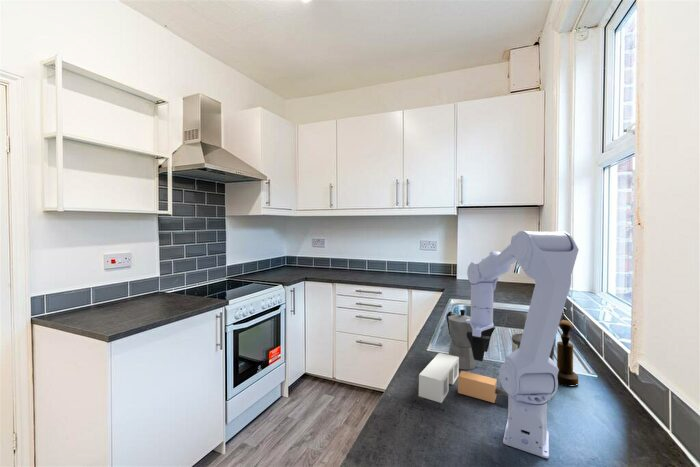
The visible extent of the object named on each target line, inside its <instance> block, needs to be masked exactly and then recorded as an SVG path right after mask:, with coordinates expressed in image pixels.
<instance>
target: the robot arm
mask: <svg viewBox="0 0 700 467" xmlns="http://www.w3.org/2000/svg"><path fill="white" fill-rule="evenodd" d="M579 251H580V250H579V247H578V245H577V244H576V242H575V240H574V238H573V236H572V235H571V234H570V233H568V232H567V231H561V230H560V231H527V230H520V231H518V232H516V234H513V235H512V236H511V240H510V243H509V245H507V246H506V247H505V248H503V250H501V252H500V251H493V250H492V251H490V252H489V255H487V256H486V257H485V258H482V259H481V261H479V262H470V263H469V265H468V266H467V272H466V275H467V279H468V282H469V283H470V317H471V320H470V319H467V320H466V323H468V324H470V325H471V327H472V332H467V338H468V340H469V342H470V344H471V348H472V353H473V358H474V360H476V362H477V361H478V362H483V360H484V357H485V353H487V352H488V351H489V347H490V342H491V339H492V338H491V337H492V335H493V332H494V331H495V329H496V326H494V291H496V290H497V282H498V281H499V277H501V276H503V275H505V274H507V273H508V272H510V269H511V266H512V265H514V264H515V263H518V265H519V266H520V268H521V269H522V271H523V272H524V274H525V276H527V277H528V278H531V279H533V281H534V283H535V284H534V288H533V293H532V296H531V299H530V302H529V303H530V304H529V308H528V312H527V316H526V318H525V319H526V320H525V322H524V323H525V324H524V328H523V331H522V334H523V335H522V338H521V342H520V346H519V348H518V349H517V350H515V351H514V352H512V351H511V353H508V354H506V356H505V360H504V362H503V363H502V364H501V366H500V368H499V372H498V376H499V378H498V379H499V381H500V385H501V387H502V390H505V391H506V392H507V393H508V397H507V400H508V401H507V403H508V404H507V407H508V408H507V420H506V424H505V429H504V434H503V439H502V443H503V444H504V445H506V446H508V447H509V446H510V447H511V448H515V449H517V450H520V451H524V452H527V453H529V454H532V455H534V456H535V455H536V456H538V457H541V458H545V459H549V458H550V442H549V441H550V437H549V436H550V435H549V434H550V432H549V430H547V429H548V401H551V400H552V398H551V395H552V394H554V395H555V394H556V392H557V391H558V387H559V384H558V379H557V375H558V371H559V369H558V367H557V363H556V362H555V360H554V361H553V360H552V359H551V358H550V357H549V356H550V353H551V350H552V346H553V343H555V338H556V336H557V332H558V329H559V327H560V322H561V319H562V315H563V312H564V308H565V305H566V302H567V298H568V294H569V293H570V288H571V284H572V274H573V270H574V267H575V264H576V262H577V261H576V260H577V258H578V254H579Z"/></svg>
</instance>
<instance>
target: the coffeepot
mask: <svg viewBox="0 0 700 467" xmlns="http://www.w3.org/2000/svg"><path fill="white" fill-rule="evenodd" d="M459 312H460V314H457V313H456V312H453V311H447V314H446V315H445V316H446V323H447V329H448V334H449V337H450V338H451V342H450V344H449V348H448V353H447V354H448V355H452V356H457V357H459V370H461V371H470V370H474V369H475V368H476V367H477V360H474V358H473V353H472V348H471V344H470V342H469V340H468V338H467V332H472V327H471V325H470V324H468V323H466V320H467V319H470V320H471V316H469V315H465V313H466V310H465V309H459Z"/></svg>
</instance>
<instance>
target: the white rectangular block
mask: <svg viewBox="0 0 700 467" xmlns="http://www.w3.org/2000/svg"><path fill="white" fill-rule="evenodd" d="M448 354H449V353H447V354H446V353H444V352H443V353H442V352H438V353H437V354H436V355H435V357H434V358H433V359H432V360H431V361H430V362H429V363H428V364H427V365H426V366H425V368H423V370H421V372H420V373H419V375H418V397H419V398H424V399H427V400H431V401H433V402H437V403H440V404H443V401H444V400H445V398H446V397H447V395H448V393H449V387H450V385H452V386H453V385H454V384H455V382H456V380H458V376H459V374H460V373H459V370H460V369H459V357H457V356H452V355H448Z"/></svg>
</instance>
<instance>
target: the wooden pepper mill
mask: <svg viewBox="0 0 700 467" xmlns="http://www.w3.org/2000/svg"><path fill="white" fill-rule="evenodd" d="M559 327H560V329H561V331H562V334H560V338H561V341H557V342H556V366H557V367H558V369H559V371H558V375H557V379H558V383H559V384H558V385H561V384H563V385H562V386H564V385H576V384H578V385H579V375H578V374H577V373H576V372H575V371H574V344H573V343H570V339H571V336H570V334H569V332H570V331H571V330H572V328H573V324H572V322H571V321H570V320H566V319H562V320H560V323H559Z"/></svg>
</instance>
